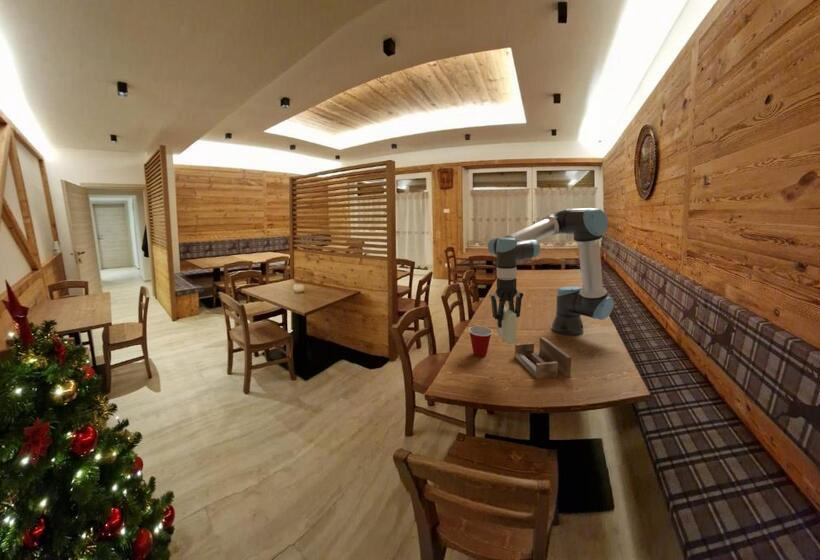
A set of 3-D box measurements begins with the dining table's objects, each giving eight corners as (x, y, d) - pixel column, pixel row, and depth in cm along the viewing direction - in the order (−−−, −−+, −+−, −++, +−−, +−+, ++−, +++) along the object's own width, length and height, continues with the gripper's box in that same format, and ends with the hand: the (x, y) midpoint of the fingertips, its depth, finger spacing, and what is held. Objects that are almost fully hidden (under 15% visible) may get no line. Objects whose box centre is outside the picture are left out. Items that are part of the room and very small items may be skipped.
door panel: (503, 332, 146) (504, 305, 144) (516, 343, 135) (516, 314, 132) (497, 332, 146) (497, 305, 143) (508, 344, 134) (508, 314, 132)
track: (542, 353, 156) (543, 336, 154) (570, 376, 135) (571, 357, 133) (514, 356, 155) (514, 339, 153) (537, 379, 134) (538, 360, 132)
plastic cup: (486, 361, 151) (486, 335, 148) (464, 356, 157) (464, 331, 154) (496, 352, 159) (496, 328, 156) (474, 347, 165) (474, 324, 163)
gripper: (521, 274, 139) (521, 328, 144) (483, 277, 137) (483, 332, 143) (530, 278, 132) (529, 335, 137) (490, 281, 130) (490, 339, 135)
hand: (506, 334), depth 140 cm, fingers closed on door panel, 3 cm apart
